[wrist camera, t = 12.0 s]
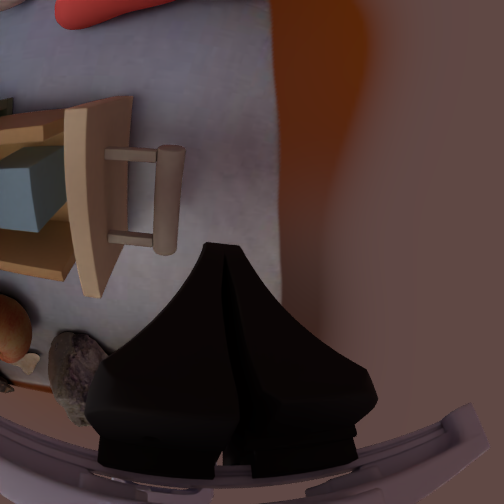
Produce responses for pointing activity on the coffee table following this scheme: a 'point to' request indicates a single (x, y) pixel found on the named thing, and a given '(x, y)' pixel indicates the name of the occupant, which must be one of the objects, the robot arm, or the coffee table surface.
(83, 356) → the mineral rock
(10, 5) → the knot
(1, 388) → the decorative plaque
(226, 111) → the coffee table surface
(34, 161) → the slate blue cube
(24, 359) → the stone tool
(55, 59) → the coffee table surface
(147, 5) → the stress ball
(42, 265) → the drawer
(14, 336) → the apple
